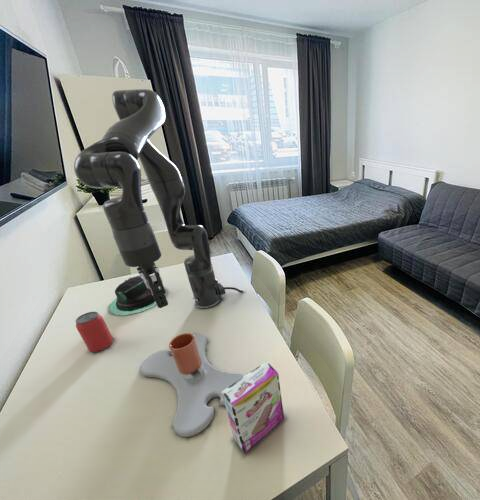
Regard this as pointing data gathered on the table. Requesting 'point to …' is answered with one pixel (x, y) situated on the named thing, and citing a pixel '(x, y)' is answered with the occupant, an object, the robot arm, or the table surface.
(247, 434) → the candy bar box
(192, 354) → the cup
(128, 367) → the table surface
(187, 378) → the holder
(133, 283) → the black and green hat
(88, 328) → the beer can
